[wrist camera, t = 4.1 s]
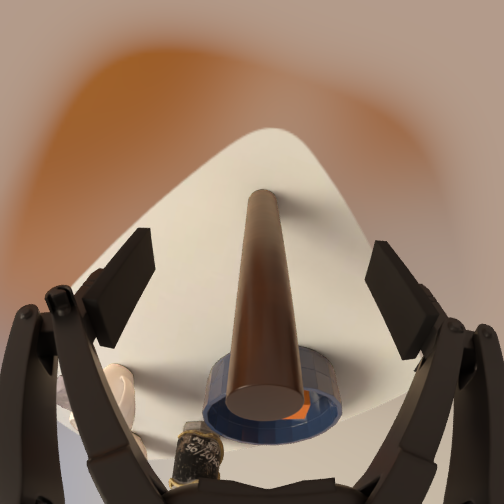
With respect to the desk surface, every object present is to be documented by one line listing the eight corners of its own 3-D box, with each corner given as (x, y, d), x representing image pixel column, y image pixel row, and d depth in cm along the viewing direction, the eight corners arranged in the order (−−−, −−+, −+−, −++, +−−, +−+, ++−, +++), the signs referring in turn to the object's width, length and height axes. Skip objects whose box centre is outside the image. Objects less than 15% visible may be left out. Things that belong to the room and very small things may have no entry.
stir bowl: (349, 343, 31) (361, 382, 26) (319, 412, 40) (323, 443, 34) (204, 338, 31) (195, 380, 26) (212, 409, 40) (208, 441, 34)
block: (307, 380, 34) (310, 404, 30) (302, 395, 36) (304, 419, 32) (277, 380, 34) (278, 405, 30) (274, 395, 36) (274, 419, 32)
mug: (131, 393, 39) (112, 451, 29) (89, 365, 36) (62, 422, 26) (170, 370, 35) (151, 442, 25) (119, 335, 32) (86, 407, 22)
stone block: (70, 365, 40) (48, 380, 41) (62, 384, 35) (41, 398, 36) (117, 400, 45) (91, 412, 46) (114, 419, 40) (88, 429, 41)
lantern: (212, 417, 41) (197, 552, 19) (233, 435, 45) (224, 553, 23) (170, 420, 43) (147, 541, 21) (193, 438, 46) (178, 546, 24)
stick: (278, 190, 23) (311, 384, 7) (275, 217, 24) (297, 421, 8) (248, 188, 23) (224, 381, 7) (247, 215, 24) (226, 419, 8)
